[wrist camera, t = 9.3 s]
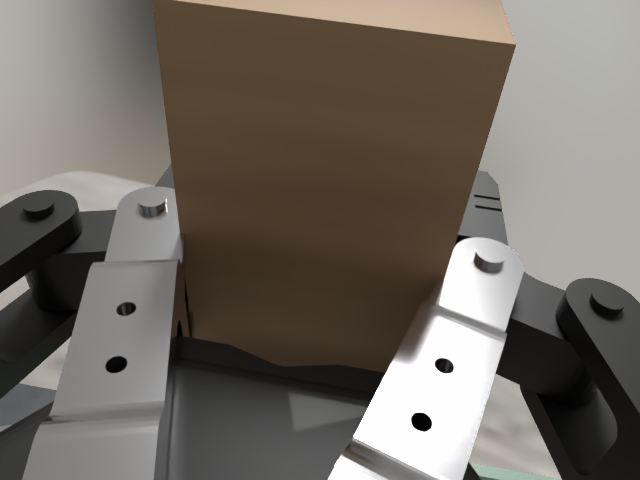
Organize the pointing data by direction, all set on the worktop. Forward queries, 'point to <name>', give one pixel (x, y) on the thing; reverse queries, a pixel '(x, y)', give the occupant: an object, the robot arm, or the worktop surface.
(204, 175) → the brown wooden block
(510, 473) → the tray
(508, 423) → the worktop surface
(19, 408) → the crank bed
